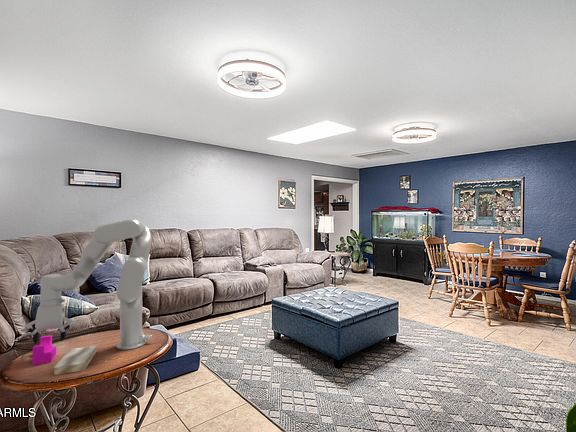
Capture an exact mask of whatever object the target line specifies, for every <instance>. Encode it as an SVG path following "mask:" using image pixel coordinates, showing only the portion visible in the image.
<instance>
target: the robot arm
mask: <svg viewBox="0 0 576 432" xmlns="http://www.w3.org/2000/svg"><path fill="white" fill-rule="evenodd" d="M152 237H153V236H152V233H151V230H150V228H149V227H148V226H147V225H146V224H145V223H144V222H143V221H141V220H139V219H135V218H134V219H133V218H132V219H131V218H129V219H124V220H121V221H117V222H112V223H107V224H101V225H99V226H97V227H96V228H95V229H94V231H93V235H92V238H91V239H90V240H89V242H88V243H87V244H86V245H85V247H84V248H82V249H83V250H82V251H81V256H80V260H79V261H78V262H77V264H76V265H75V266H74V268H73V269H72V270H71V272H69V273H68V274H64V275H61V274H58V273H57V274H55V273H53V274H51V273H50V274H45V275H43V276H41V279H40V295H39V296H40V299H39V300H40V301H39V303H40V304H39V306H38V307H37V311H36V316H35V320H32V321H31V322H28V323H27V324H26V325H25V327H26V329H27V330H28V331H29V332H30V333H31V335H32V342H33V344H34V345H37V343H40V332H39V331H42V330H53V329H59V330H60V331H61V332H60V337H59V339H60V342H63V341H64V340H65V339H66V337H67V331H68V329H69V328H71V326H72V324H73V323H74V320H73V319H70V318H68V317H66V312H65V306H64V304H63V303H65V302H66V299H64V298H62V292H72V291H75V290H77V289H78V288H79V287H82V285H84V283H86V281H87V280H88V278H89V277H90V276H91V274H92V273H93V272H94V270H95V268H96V267H97V266H98V264H99V263H100V261H101V260H102V259H103V257H104V255H105V254H106V253H107V252H108V250H109V249H110V248H111V246H112V245H113V243H115V242H118V241H119V242H120V241H123V240H127V239H132V244H131V247H130V250H129V251H130V252H129V254H128V259H127V260H126V261H124V264H123V265H122V269H121V272H120V275H119V279H118V283H117V287H116V297H117V299H118V300H119V301H120V302H119V342H117V343H116V349H117V350H123V351H125V350H132V349H134V350H135V349H136V348H140V347H143V346H144V345H145V344H146V343H147V340H153V334H150V333H147V334H144V333H145V332H144V331H143V289H144V288H143V280H144V276H145V272H146V270H147V267H148V262H149V261H148V260H149V257H150V251H151V246H152V240H153V238H152ZM66 323H67V325H65V324H66ZM33 325H34V327H35V328H34V327H33Z"/></svg>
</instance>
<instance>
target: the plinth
mask: <svg viewBox="0 0 576 432" xmlns="http://www.w3.org/2000/svg"><path fill="white" fill-rule="evenodd" d="M96 353H97V345H90V346H85V347H76V348H69V350H68V351H67V352H66V353H65V354H64V355H63V356H62V358H61V359H60V360H59V361H58V362H57V363H56V365H54V368H53V375H54V376H57V375H63V374H70V373H76V372H77V373H78V372H82V371H85V370H86V368H87V367H88V366H89V364H90V363H91V361H92V360H93V358H94V357H95V355H96Z"/></svg>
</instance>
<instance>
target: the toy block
mask: <svg viewBox="0 0 576 432" xmlns="http://www.w3.org/2000/svg"><path fill="white" fill-rule="evenodd" d="M39 343H40V344H34V346H33V347H32V366H38V364H39V365H43V364H49V363H52V362H53V360H54V359H55V357H56V355H57V346H56V345H55V346H53V335H52V334H50V335H42V336H41V337H40V340H39Z"/></svg>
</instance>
